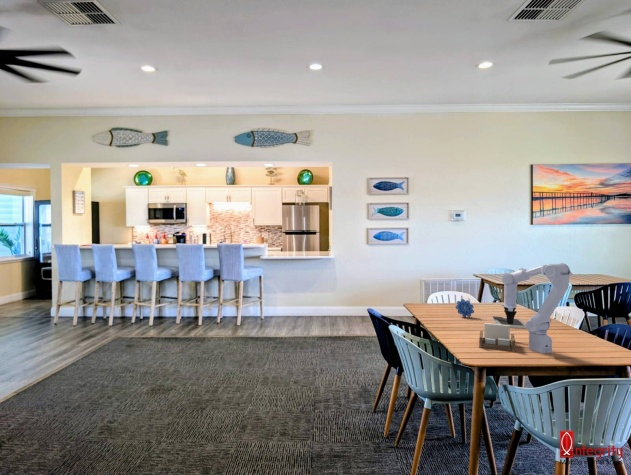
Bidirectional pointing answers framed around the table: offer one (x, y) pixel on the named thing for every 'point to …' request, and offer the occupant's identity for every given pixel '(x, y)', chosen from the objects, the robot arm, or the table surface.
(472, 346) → the table surface
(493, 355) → the table surface
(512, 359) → the table surface
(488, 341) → the offcut
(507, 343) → the offcut
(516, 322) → the square clock
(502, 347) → the rack
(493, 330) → the cream rectangular slab
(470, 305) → the blue flower
